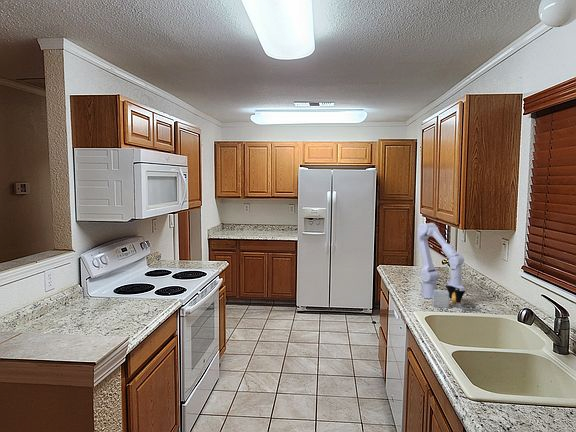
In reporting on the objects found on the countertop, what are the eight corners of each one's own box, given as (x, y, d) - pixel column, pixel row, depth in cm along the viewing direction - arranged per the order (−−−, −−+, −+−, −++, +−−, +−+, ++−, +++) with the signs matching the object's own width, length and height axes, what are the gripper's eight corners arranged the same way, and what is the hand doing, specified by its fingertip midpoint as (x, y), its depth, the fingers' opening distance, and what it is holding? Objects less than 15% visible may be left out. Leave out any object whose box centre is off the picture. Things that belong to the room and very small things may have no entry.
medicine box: (447, 305, 215) (448, 290, 214) (448, 308, 210) (449, 292, 210) (432, 304, 217) (432, 289, 216) (433, 307, 212) (433, 291, 212)
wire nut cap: (450, 302, 221) (450, 292, 220) (456, 302, 221) (457, 292, 220) (452, 304, 217) (453, 293, 217) (459, 304, 217) (459, 293, 217)
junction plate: (455, 305, 216) (456, 301, 216) (472, 305, 216) (472, 302, 216) (463, 310, 206) (463, 307, 206) (480, 311, 205) (480, 307, 205)
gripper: (442, 273, 225) (441, 296, 226) (455, 279, 210) (454, 304, 211) (454, 273, 225) (453, 296, 226) (468, 279, 211) (467, 304, 212)
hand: (454, 300), depth 219 cm, fingers open, 7 cm apart
